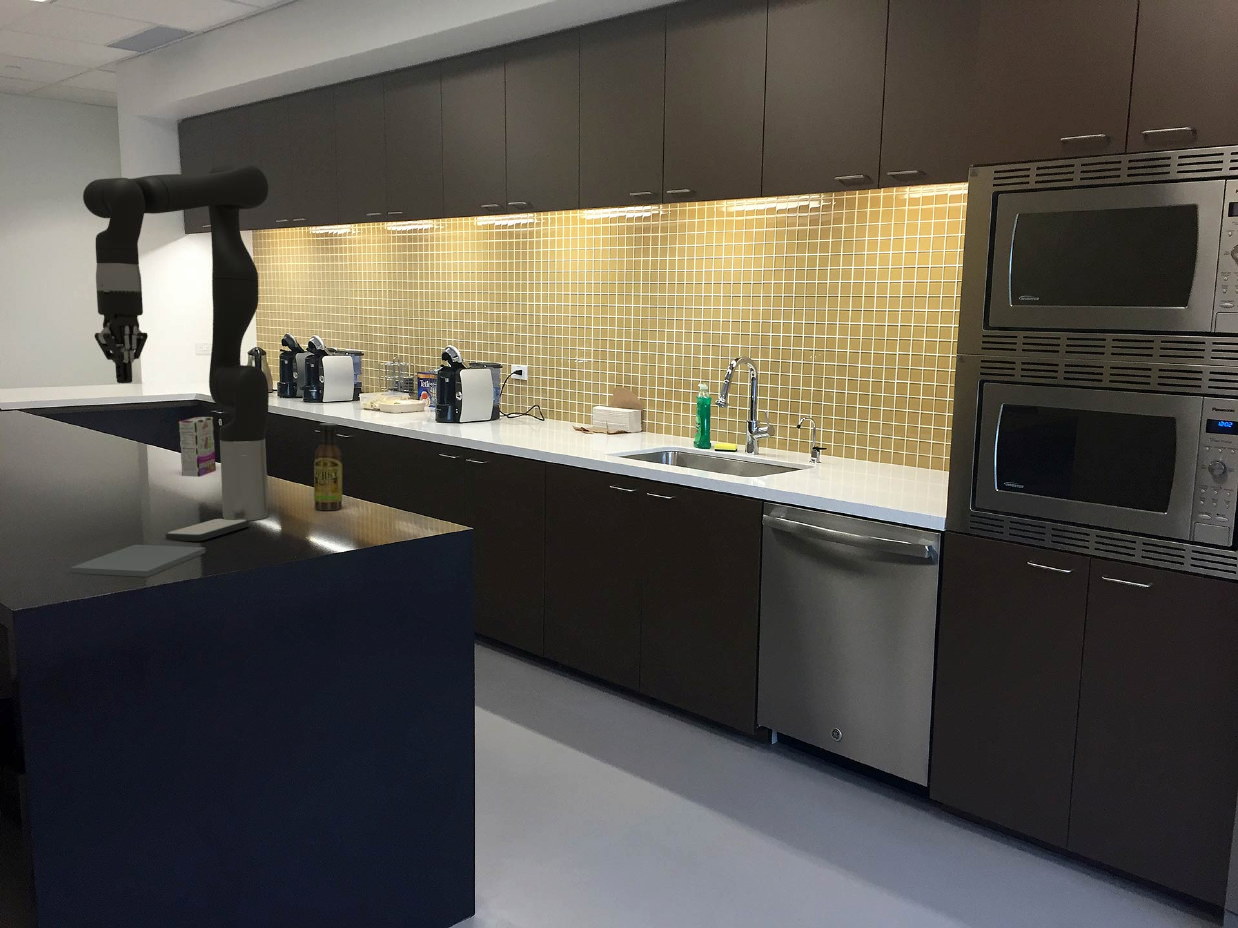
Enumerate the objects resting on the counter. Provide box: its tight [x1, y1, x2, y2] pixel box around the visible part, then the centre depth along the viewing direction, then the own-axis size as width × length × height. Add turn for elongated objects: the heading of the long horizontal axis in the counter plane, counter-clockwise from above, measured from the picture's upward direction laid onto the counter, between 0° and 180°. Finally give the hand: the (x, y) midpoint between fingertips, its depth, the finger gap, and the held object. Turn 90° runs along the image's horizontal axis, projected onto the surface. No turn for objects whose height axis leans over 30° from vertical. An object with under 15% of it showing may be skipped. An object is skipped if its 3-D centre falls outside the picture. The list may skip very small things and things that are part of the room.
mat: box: [69, 544, 206, 578], centre depth 175 cm, size 18×14×1 cm
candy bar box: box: [178, 416, 217, 478], centre depth 268 cm, size 11×5×16 cm, turn 179°
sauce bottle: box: [313, 422, 343, 511], centre depth 226 cm, size 6×6×20 cm
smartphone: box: [165, 518, 250, 542], centre depth 199 cm, size 9×2×16 cm
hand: (124, 382), depth 184 cm, fingers closed
